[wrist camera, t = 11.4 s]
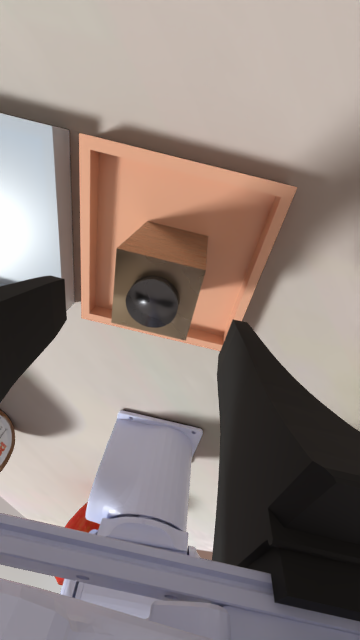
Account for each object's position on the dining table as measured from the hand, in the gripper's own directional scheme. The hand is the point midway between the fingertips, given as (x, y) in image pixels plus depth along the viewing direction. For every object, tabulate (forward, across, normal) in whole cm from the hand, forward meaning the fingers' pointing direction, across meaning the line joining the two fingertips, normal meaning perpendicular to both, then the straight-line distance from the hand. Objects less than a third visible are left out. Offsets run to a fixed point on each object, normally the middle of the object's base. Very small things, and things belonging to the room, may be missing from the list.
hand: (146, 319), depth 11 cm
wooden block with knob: (+8, 0, 0) cm, 8 cm away
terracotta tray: (+8, 0, 0) cm, 8 cm away
